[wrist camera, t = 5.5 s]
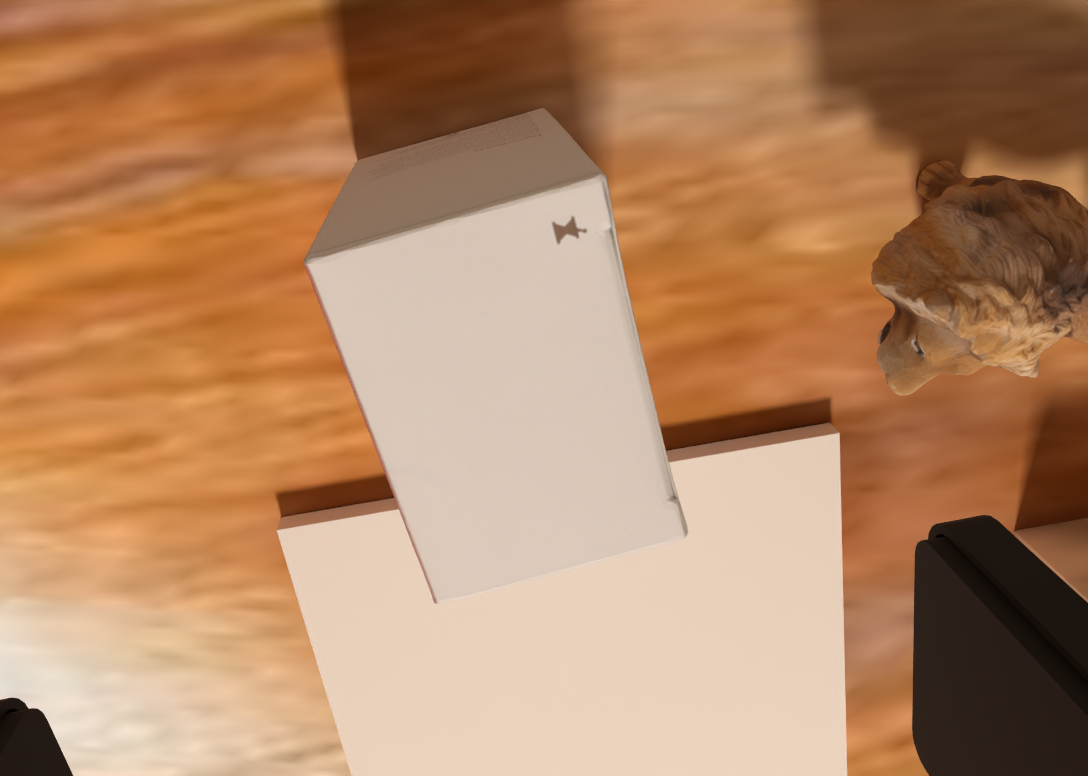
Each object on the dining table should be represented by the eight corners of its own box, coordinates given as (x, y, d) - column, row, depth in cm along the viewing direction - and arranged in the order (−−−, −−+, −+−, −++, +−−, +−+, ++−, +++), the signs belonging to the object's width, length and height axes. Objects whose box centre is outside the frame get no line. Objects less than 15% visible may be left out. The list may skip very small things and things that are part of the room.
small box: (354, 157, 25) (291, 247, 16) (549, 102, 25) (606, 160, 16) (438, 410, 29) (430, 617, 19) (612, 363, 28) (693, 546, 19)
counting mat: (829, 422, 30) (839, 433, 29) (839, 786, 36) (847, 802, 35) (281, 517, 29) (276, 530, 29) (387, 869, 36) (385, 887, 35)
